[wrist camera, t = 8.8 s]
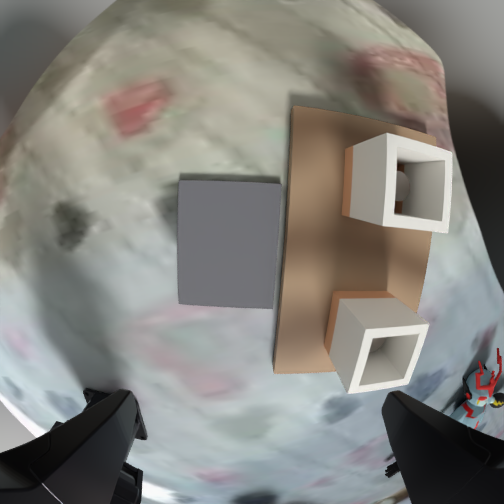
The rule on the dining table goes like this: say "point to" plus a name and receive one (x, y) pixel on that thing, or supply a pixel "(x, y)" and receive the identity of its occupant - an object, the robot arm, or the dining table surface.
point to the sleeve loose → (384, 183)
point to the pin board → (336, 238)
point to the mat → (227, 243)
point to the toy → (473, 401)
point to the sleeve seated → (364, 330)
